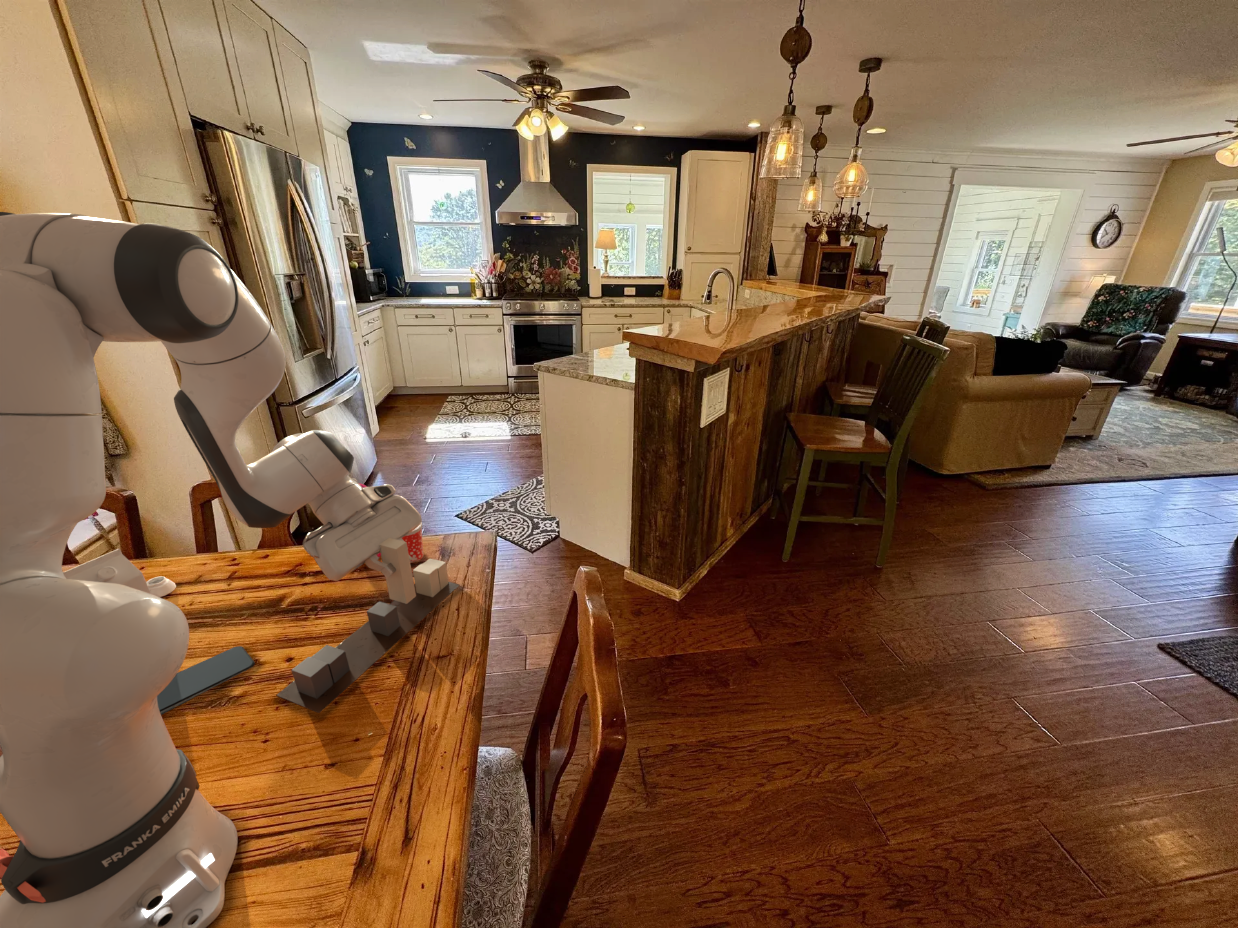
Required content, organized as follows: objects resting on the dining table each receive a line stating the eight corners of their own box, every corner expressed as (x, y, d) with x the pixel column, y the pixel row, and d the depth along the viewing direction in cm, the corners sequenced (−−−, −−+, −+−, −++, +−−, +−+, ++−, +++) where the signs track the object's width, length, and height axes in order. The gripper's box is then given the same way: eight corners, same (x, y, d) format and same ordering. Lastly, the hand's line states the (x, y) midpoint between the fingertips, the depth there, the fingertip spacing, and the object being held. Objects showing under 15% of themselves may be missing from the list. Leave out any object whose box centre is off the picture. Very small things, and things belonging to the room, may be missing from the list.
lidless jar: (137, 597, 98) (155, 602, 97) (132, 585, 97) (149, 590, 96) (165, 583, 103) (182, 587, 101) (161, 571, 101) (177, 576, 100)
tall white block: (406, 604, 91) (396, 549, 87) (389, 598, 93) (378, 544, 88) (416, 596, 93) (406, 541, 89) (399, 591, 95) (389, 537, 90)
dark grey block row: (317, 698, 75) (310, 677, 74) (297, 691, 77) (291, 669, 75) (400, 625, 90) (396, 606, 89) (383, 620, 92) (379, 601, 90)
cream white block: (432, 597, 98) (429, 574, 96) (416, 592, 99) (412, 570, 97) (448, 583, 102) (445, 560, 100) (433, 578, 104) (429, 556, 102)
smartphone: (256, 663, 81) (134, 722, 70) (259, 671, 82) (138, 731, 71) (240, 642, 86) (122, 695, 74) (242, 650, 86) (126, 704, 75)
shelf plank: (320, 717, 73) (319, 712, 73) (277, 699, 76) (275, 695, 76) (460, 588, 102) (460, 584, 102) (425, 579, 105) (425, 575, 105)
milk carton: (97, 663, 82) (48, 568, 75) (146, 634, 89) (105, 544, 81) (125, 673, 80) (77, 577, 73) (173, 644, 87) (133, 552, 79)
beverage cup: (421, 568, 109) (411, 512, 103) (393, 567, 109) (383, 511, 104) (431, 552, 115) (423, 499, 109) (405, 552, 115) (395, 498, 109)
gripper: (303, 530, 79) (361, 594, 80) (397, 481, 97) (444, 533, 97) (290, 548, 82) (346, 609, 83) (383, 497, 100) (429, 548, 100)
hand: (400, 568), depth 90 cm, fingers closed on tall white block, 2 cm apart
